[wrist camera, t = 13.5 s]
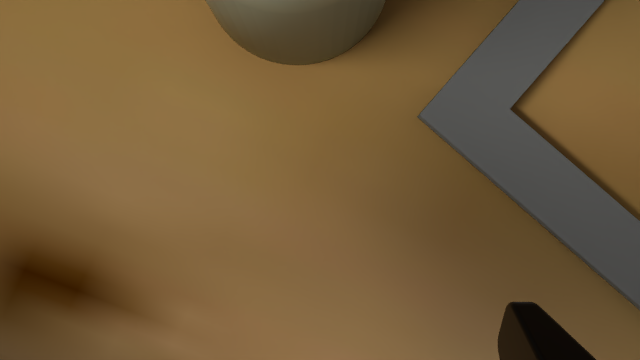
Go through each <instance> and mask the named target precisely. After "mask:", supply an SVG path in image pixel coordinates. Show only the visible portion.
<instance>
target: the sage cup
mask: <svg viewBox="0 0 640 360" xmlns="http://www.w3.org/2000/svg"><path fill="white" fill-rule="evenodd" d="M205 1H206V2H207V4H208V6H209V7H210V9H211V11H212V12H213V14H214V16H215V17H216V19H217V20H218V22H219V24H220V25H221V27H222V28H223V29H224V30H225V32H226V33H227V34H228V35H229V36H230V37H231V38H232V39H233V40H234V41H235V42H236V43H237V44H238V45H240V46H241V47H242V48H244V49H245V50H247V51H248V52H250V53H252V54H254V55H256V56H258V57H260V58H263V59H265V60H268V61H271V62H276V63H280V64H288V65H308V64H313V63H319V62H322V61H325V60H329V59H331V58H334V57H336V56H338V55H340V54H342V53H344V52H345V51H347V50H348V49H350V48H352V47H353V46H354V45H355V44H356V43H358V42H359V41H360V40H361V39H362V38H363V37H364V36H365V35H366V34H367V33H368V32H369V31H370V29H371V28H372V26H373V25H374V24H375V22H376V21H377V19H378V17H379V15H380V13H381V11H382V9H383V6H384V4H385V1H386V0H205Z"/></svg>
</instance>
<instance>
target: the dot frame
mask: <svg viewBox="0 0 640 360" xmlns="http://www.w3.org/2000/svg"><path fill="white" fill-rule="evenodd" d="M603 1H604V0H519V1H518V2H517V3H516V4H515V6H514V7H513V8H512V9H511V10H510V11H509V12H508V14H507V15H506V16H505V17H504V18H503V19H502V20H501V22H500V23H499V24H498V25H497V26H496V27H495V28H494V30H493V31H492V32H491V33H490V34H489V35H488V36H487V38H486V39H485V40H484V41H483V42H482V43H481V44H480V46H479V47H478V48H477V49H476V50H475V51H474V52H473V54H472V55H471V56H470V57H469V58H468V59H467V60H466V62H465V63H464V64H463V65H462V66H461V67H460V68H459V70H458V71H457V72H456V73H455V74H454V75H453V76H452V78H451V79H450V80H449V81H448V82H447V83H446V84H445V86H444V87H443V88H442V89H441V90H440V91H439V92H438V93H437V95H436V96H435V97H434V98H433V99H432V100H431V101H430V103H429V104H428V105H427V106H426V107H425V108H424V109H423V111H422V112H421V113H420V114H419V115H418V116H417V117H418V118H419V119H420V120H421V121H423V122H424V123H425V124H426V125H427V126H428V127H430V128H431V129H432V130H433V131H434V132H435V133H436V134H438V135H439V136H440V137H441V138H442V139H443V140H445V141H446V142H447V143H448V144H449V145H450V146H451V147H453V148H454V149H455V150H456V151H457V152H458V153H459V154H461V155H462V156H463V157H464V158H465V159H466V160H468V161H469V162H470V163H471V164H472V165H473V166H474V167H476V168H477V169H478V170H479V171H480V172H481V173H482V174H484V175H485V176H486V177H487V178H488V179H489V180H491V181H492V182H493V183H494V184H495V185H496V186H497V187H499V188H500V189H501V190H502V191H503V192H504V193H506V194H507V195H508V196H509V197H510V198H511V199H512V200H514V201H515V202H516V203H517V204H518V205H519V206H520V207H522V208H523V209H524V210H525V211H526V212H527V213H529V214H530V215H531V216H532V217H533V218H534V219H535V220H537V221H538V222H539V223H540V224H541V225H542V226H544V227H545V228H546V229H547V230H548V231H549V232H550V233H552V234H553V235H554V236H555V237H556V238H557V239H558V240H560V241H561V242H562V243H563V244H564V245H565V246H567V247H568V248H569V249H570V250H571V251H572V252H573V253H575V254H576V255H577V256H578V257H579V258H580V259H582V260H583V261H584V262H585V263H586V264H587V265H588V266H590V267H591V268H592V269H593V270H594V271H595V272H596V273H598V274H599V275H600V276H601V277H602V278H603V279H605V280H606V281H607V282H608V283H609V284H610V285H611V286H613V287H614V288H615V289H616V290H617V291H618V292H619V293H621V294H622V295H623V296H624V297H625V298H626V299H628V300H629V301H630V302H631V303H632V304H633V305H634V306H636V307H637V308H638V309H639V310H640V221H639V220H638V219H636V218H635V217H634V216H633V215H632V214H631V213H629V212H628V211H627V210H626V209H625V208H624V207H623V206H621V205H620V204H619V203H618V202H617V201H616V200H614V199H613V198H612V197H611V196H610V195H609V194H607V193H606V192H605V191H604V190H603V189H602V188H601V187H599V186H598V185H597V184H596V183H595V182H594V181H592V180H591V179H590V178H589V177H588V176H587V175H585V174H584V173H583V172H582V171H581V170H580V169H579V168H577V167H576V166H575V165H574V164H573V163H572V162H570V161H569V160H568V159H567V158H566V157H565V156H563V155H562V154H561V153H560V152H559V151H558V150H557V149H555V148H554V147H553V146H552V145H551V144H550V143H548V142H547V141H546V140H545V139H544V138H543V137H541V136H540V135H539V134H538V133H537V132H536V131H535V130H533V129H532V128H531V127H530V126H529V125H528V124H526V123H525V122H524V121H523V120H522V119H521V118H519V117H518V116H517V115H516V114H515V113H514V112H513V111H511V110H510V108H511V107H512V106H513V105H514V103H515V102H516V101H517V100H518V99H519V98H520V97H521V95H522V94H523V93H524V92H525V91H526V90H527V88H528V87H529V86H530V85H531V84H532V83H533V82H534V80H535V79H536V78H537V77H538V76H539V75H540V74H541V72H542V71H543V70H544V69H545V68H546V67H547V66H548V64H549V63H550V62H551V61H552V60H553V59H554V58H555V56H556V55H557V54H558V53H559V52H560V51H561V49H562V48H563V47H564V46H565V45H566V44H567V43H568V41H569V40H570V39H571V38H572V37H573V36H574V35H575V33H576V32H577V31H578V30H579V29H580V28H581V27H582V25H583V24H584V23H585V22H586V21H587V20H588V19H589V17H590V16H591V15H592V14H593V13H594V12H595V10H596V9H597V8H598V7H599V6H600V5H601V4H602V2H603Z"/></svg>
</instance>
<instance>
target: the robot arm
mask: <svg viewBox="0 0 640 360" xmlns="http://www.w3.org/2000/svg"><path fill="white" fill-rule="evenodd" d="M498 352H499V358H500V360H596V359H595V358H594V357H593V356H592V355H591V354H590V353H589V352H588V351H587V350H585V349H584V348H583V347H582V346H581V345H580V344H579V343H578V342H577V341H576V340H575V339H574V338H573V337H572V336H571V335H569V334H568V333H567V332H566V331H565V330H564V329H563V328H562V327H561V326H560V325H559V324H558V323H557V322H556V321H555V320H554V319H552V318H551V317H550V316H549V315H548V314H547V313H546V312H545V311H544V310H543V309H542V308H541V307H540V306H538V305H537V304H535V303H533V302H510V303H509V304H508V305H507V307H506V309H505V313H504V317H503V320H502V324H501V328H500V331H499V335H498Z"/></svg>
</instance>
